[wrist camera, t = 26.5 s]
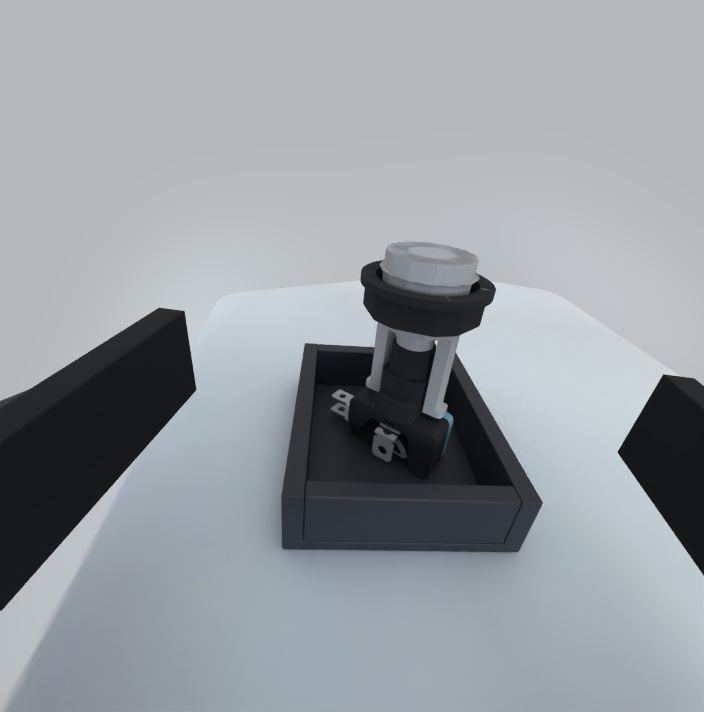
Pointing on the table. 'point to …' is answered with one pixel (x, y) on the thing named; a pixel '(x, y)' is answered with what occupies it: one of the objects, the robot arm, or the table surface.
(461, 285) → the push button
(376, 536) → the tray
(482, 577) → the table surface
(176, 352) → the robot arm
